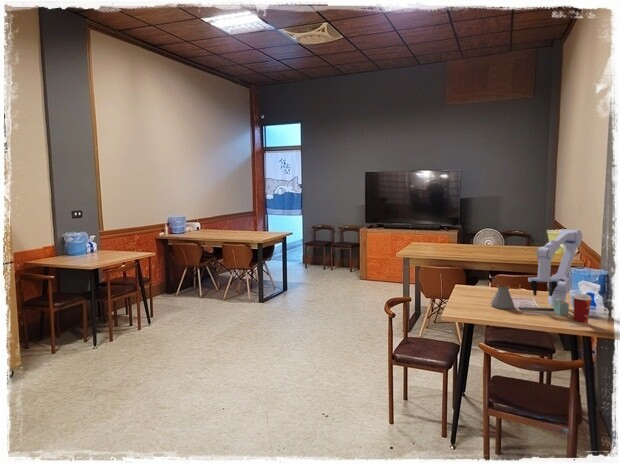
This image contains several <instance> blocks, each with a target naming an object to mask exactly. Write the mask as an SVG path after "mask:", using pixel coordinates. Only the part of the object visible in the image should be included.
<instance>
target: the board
mask: <svg viewBox="0 0 620 465" xmlns="http://www.w3.org/2000/svg"><path fill="white" fill-rule="evenodd" d="M517 309H518V310H519V311H520V312H521V313H523V315H524V316H530V317H531V316H533V317H534V316H535V317H561V318H563V317H564V318H574V315H572V314H571V313H569V312H568V315H559V314H557V313H556V312H554V307H538V306H537V307H530V306H518V308H517Z"/></svg>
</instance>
